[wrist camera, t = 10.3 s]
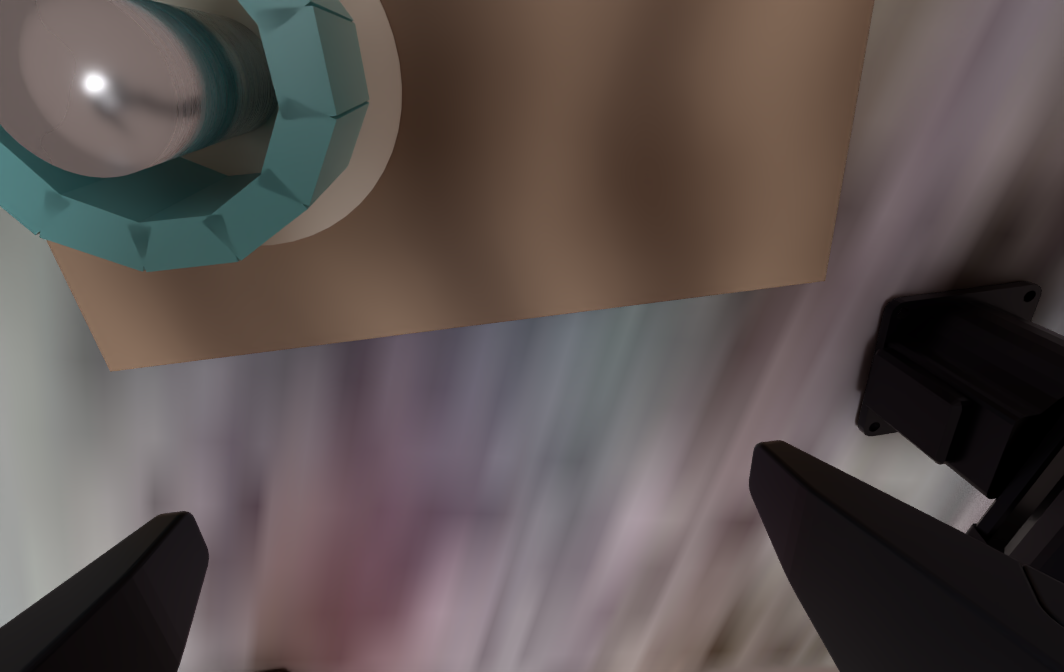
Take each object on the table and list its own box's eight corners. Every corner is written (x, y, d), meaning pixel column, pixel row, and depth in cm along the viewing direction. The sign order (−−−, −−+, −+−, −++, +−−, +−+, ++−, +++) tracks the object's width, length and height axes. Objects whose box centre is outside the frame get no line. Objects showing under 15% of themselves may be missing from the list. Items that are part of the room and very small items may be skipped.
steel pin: (264, 10, 14) (135, -27, 8) (294, 128, 15) (201, 168, 9) (148, 18, 14) (-73, -14, 8) (188, 138, 15) (24, 185, 9)
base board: (894, -344, 14) (949, -394, 12) (800, 266, 21) (828, 283, 19) (-172, -322, 12) (-265, -380, 10) (134, 349, 19) (106, 374, 17)
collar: (330, -105, 13) (270, -191, 8) (387, 196, 16) (365, 247, 12) (9, -87, 12) (-238, -170, 8) (134, 222, 15) (9, 287, 11)
